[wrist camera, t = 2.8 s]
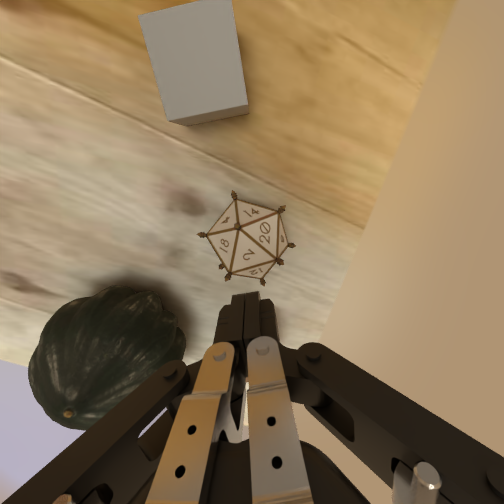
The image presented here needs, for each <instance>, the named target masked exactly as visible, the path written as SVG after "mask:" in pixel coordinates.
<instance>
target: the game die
mask: <svg viewBox="0 0 504 504" xmlns="http://www.w3.org/2000/svg"><path fill="white" fill-rule="evenodd" d="M236 194H237V193H235V192H234V191H233V190H232V193H231V195H232V198H233V199H234V200H233V202H232V203H231V204H230V205H229V207H228V208H227V209H226V210H225V212H224V213H223V214H222V215H221V217H220V218H219V219H218V220H217V222H216V223H215V224H214V225H213V227H212V228H211V229H210V230H209V232H208V233H207V234H206V233H204V232H203V233H202V232H201V233H198V234H197V235H198V236H200V238H201V237H203V238H204V237H207V239H208V241H209V242H210V244H211V246H212V247H213V249H214V251H215V252H216V254H217V256H218V257H219V259H220V261H221V262H222V264H220V265H219V269H223V268H224V267H225V268H226V270H227V272H228V274H226V276H225V282H226V281H228V280H230V278H231V275H238V276H244V277H251V278H258V279H260V282H261V284H262V285H263V286H265V283H266V282H265V280H264V279H263V278H264V277H265V275H266V274H267V273H268V272H269V270H270V269H271V268H272V267H273V266H274V264H275V263H276V262H277V264H279V266H280V265H284V262H283V261H284V260H282V259H280V257H281V255H282V254H283V253H284V251H285V250H286V249H287V247H290V248H293V247H295V246H296V245H295V244H294V243H288V241H287V238H286V234H285V230H284V227H283V223H282V220H281V216H280V213H283V211H285V207H286V205H284V206H280V208H278V211H277V210H273V209H270V208H266V207H263V206H259V205H256V204H253V203H249V202H246V201H242V200H239V199H237V195H236Z"/></svg>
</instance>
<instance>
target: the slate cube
mask: <svg viewBox="0 0 504 504" xmlns="http://www.w3.org/2000/svg"><path fill="white" fill-rule="evenodd" d="M138 18H139V22H140V25H141V29H142V32H143V36H144V39H145V43H146V47H147V50H148V54H149V57H150V61H151V64H152V68H153V71H154V75H155V78H156V82H157V86H158V89H159V93H160V96H161V100H162V103H163V107H164V110H165V114H166V117H167V121H170V122H173V123H177V124H181V125H185V126H190V125H195V124H200V123H205V122H210V121H215V120H220V119H225V118H230V117H234V116H239V115H244V114H249V109H248V101H247V94H246V88H245V82H244V76H243V69H242V63H241V57H240V51H239V44H238V38H237V32H236V26H235V19H234V13H233V7H232V1H231V0H200V1H196V2H191V3H187V4H183V5H179V6H175V7H171V8H167V9H163V10H158V11H154V12H150V13H146V14H142V15H138Z"/></svg>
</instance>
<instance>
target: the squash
mask: <svg viewBox="0 0 504 504" xmlns="http://www.w3.org/2000/svg"><path fill="white" fill-rule="evenodd" d="M185 348H186V338H185V335H184V333H183V332H182V330H181V329H180V328H179V327H177V318H176V317H175V315H174V314H173V313H171V312H169V311H165V310H162V303H161V300H160V297H159V296H158V295H157V294H156V293H155V292H153V291H144V292H140V293H136V292H135V291H134V290H133V289H131V288H129V287H126V286H112V287H109V288H107V289H104V290H103V291H101V292H100V293H98V294H96V295H95V296H93V297H85V298H78V299H75V300H73V301H71V302H69V303H67V304H65V305H63V306H62V307H61V308H60V309H58V310H57V311H56V313H55V314H54V315H53V316H52V317H51V318H50V320H49V321H48V322H47V323H46V325H45V327H44V329H43V331H42V333H41V336H40V341H39V344H38V346H37V347H36V349H35V351H34V353H33V355H32V357H31V359H30V362H29V367H28V379H29V382H30V386H31V389H32V392H33V395H34V397H35V399H36V400H37V402H38V403H39V404H40V405H41V406H42V407H43V409H44V411H45V413H46V414H47V415H48V416H49V417H50V418H51V419H52V420H53V421H55V422H57V423H59V424H60V425H62V426H64V427H67V428H70V429H78V430H86V431H87V430H88V429H89V428H90V427H91V426H93V425H94V424H95V423H96V422H97V421H98V420H100V419H101V418H102V417H103V416H104V415H105V414H107V413H108V412H109V411H110V410H111V409H112V408H114V407H115V406H116V405H117V404H118V403H119V402H121V401H122V400H123V399H124V398H125V397H126V396H128V395H129V394H130V393H131V392H132V391H133V390H135V389H136V388H137V387H138V386H139V385H140V384H142V383H143V382H144V381H145V380H146V379H147V378H149V377H150V376H151V375H152V374H153V373H154V372H156V371H157V370H158V369H159V368H160V367H161V366H163V365H164V364H166V363H168V362H170V361H173V360H181V361H182V359H183V355H184V352H185Z"/></svg>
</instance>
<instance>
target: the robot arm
mask: <svg viewBox="0 0 504 504" xmlns="http://www.w3.org/2000/svg"><path fill="white" fill-rule="evenodd" d="M246 377H248V378H249V390H247V404H248V423H249V439H247V440H245V441H242V430H243V421H244V412H245V402H246V388H245V385H246ZM291 402H296V403H300V404H304V406H305V408H306V409H307V410H308V411H309V412H310V413H311V414H312V415H313V416H314V417H315V418H316V419H317V420H318V421H319V422H321V424H323V425H324V426H325V427H326V428H327V429H328V430H329V431H330V432H331V433H332V434H333V435H334V436H336V438H338V439H339V440H340V441H341V442H342V443H343V444H344V445H345V446H346V447H347V448H348V449H350V450H351V451H352V452H353V453H354V454H355V455H356V456H357V457H358V458H359V459H360V460H361V461H362V462H363V463H364V464H366V465H367V466H368V467H369V468H370V469H371V470H372V471H373V472H374V473H375V474H376V475H378V477H380V478H381V479H382V480H383V481H384V482H385V483H386V484H387V485H388V486H389V487H390V488H391V489H392V502H393V504H504V457H502V456H501V455H499V454H497V453H496V452H494V451H492V450H491V449H489V448H488V447H486V446H485V445H483V444H481V443H480V442H478V441H476V440H475V439H473V438H472V437H470V436H468V435H467V434H465V433H464V432H462V431H460V430H459V429H457V428H456V427H454V426H452V425H451V424H449V423H448V422H446V421H444V420H443V419H441V418H440V417H438V416H436V415H435V414H433V413H432V412H430V411H428V410H427V409H425V408H424V407H422V406H420V405H418V404H417V403H416V402H414V401H412V400H411V399H409V398H408V397H406V396H404V395H403V394H401V393H400V392H398V391H396V390H395V389H393V388H391V387H390V386H388V385H387V384H385V383H384V382H382V381H380V380H379V379H377V378H375V377H374V376H372V375H371V374H369V373H367V372H366V371H364V370H363V369H361V368H359V367H358V366H356V365H355V364H353V363H351V362H350V361H348V360H347V359H345V358H343V357H342V356H340V355H339V354H337V353H335V352H334V351H332V350H330V349H329V348H327V347H326V346H324V345H322V344H320V343H314V342H311V343H306V344H304V345H302V346H301V347H300V348H299V349H298V350H296V349H290V348H287V347H285V346H283V345H282V344H281V343H280V342H279V334H278V326H277V320H276V315H275V309H274V304H273V303H272V301H271V300H270V299H264V300H261V299H260V294H259V291H256V292H250V293H246V294H245V293H244V294H237V295H232V301H231V305H224V307H223V308H222V309H221V311H220V312H219V317H218V322H217V327H216V332H215V337H214V342H213V345H212V346H211V347H209V348H208V349H207V351H206V352H205V354H204V357H203V359H202V360H200V361H198V362H195V363H193V364H190V365H188V366H186V364H185V363H184V362H183V361H181V360H173V361H170V362H168V363H166V364H164V365H163V366H161V367H160V368H159V369H158V370H157V371H156V372H154V373H153V374H152V375H151V376H150V377H149V378H147V379H146V380H145V381H144V382H143V383H142V384H140V385H139V386H138V387H137V388H136V389H135V390H133V391H132V392H131V393H130V394H129V395H128V396H126V397H125V398H124V399H123V400H122V401H121V402H119V403H118V404H117V405H116V406H115V407H114V408H112V409H111V410H110V411H109V412H108V413H107V414H105V415H104V416H103V417H102V418H101V419H100V420H98V421H97V422H96V423H95V424H94V425H93V426H91V427H90V428H89V429H88V430H87V431H86V432H84V433H83V434H82V435H81V436H80V437H79V438H78V439H76V440H75V441H74V442H73V443H72V444H71V445H69V446H68V447H67V448H66V449H65V450H63V451H62V452H61V453H60V454H59V455H58V456H56V457H55V458H54V459H53V460H52V461H51V462H49V463H48V464H47V465H46V466H45V467H44V468H42V470H40V471H39V472H38V473H37V474H35V475H34V476H33V477H32V478H31V479H30V480H29V481H27V482H26V483H25V484H24V485H23V486H21V487H20V488H19V489H18V490H17V491H16V492H14V493H13V494H12V495H11V496H10V497H9V498H8V499H6V500H5V501H4V502H3V503H2V504H370V502H369V501H368V500H367V499H366V498H365V497H364V496H363V495H362V493H361V492H360V491H359V490H358V489H357V488H356V487H355V486H354V485H353V484H352V483H351V482H350V480H349V479H348V478H347V477H346V476H345V475H344V474H343V473H342V472H341V470H340V469H339V468H338V467H337V466H336V465H335V464H334V463H333V462H332V461H331V460H330V459H329V458H328V457H327V456H326V455H325V454H324V453H322V451H320V450H319V449H317V448H316V447H314V446H313V445H311V444H309V443H307V442H304V441H301V440H299V436H298V432H297V428H296V423H295V418H294V414H293V409H292V405H291ZM165 407H166V408H167V410H166V411H165V413H163V415H162V416H161V417H160V418H159V419H158V420H157V421H156V422H155V423H154V424H153V425H152V426H151V427H150V428H149V429H148V430H147V431H146V432H145V433H144V434H143V435H142V436H141V437H139V435H140V433H141V432H142V430H143V429H144V428H145V427H146V426H147V425H148V424H149V423H150V422H151V421H152V420H153V419H154V418H155V417H156V416H157V415H158V414H159V413H160V412H161V411H162V410H163V409H164V408H165ZM138 437H139V438H138Z"/></svg>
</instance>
